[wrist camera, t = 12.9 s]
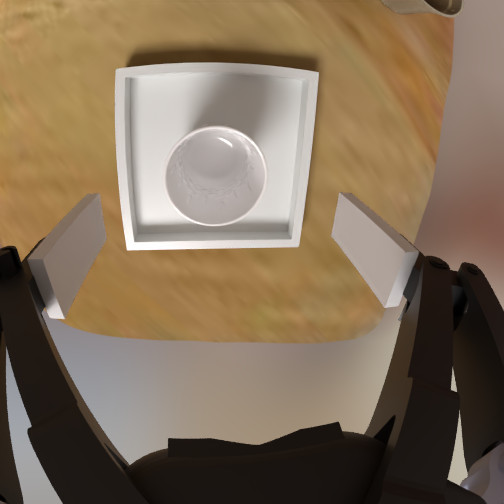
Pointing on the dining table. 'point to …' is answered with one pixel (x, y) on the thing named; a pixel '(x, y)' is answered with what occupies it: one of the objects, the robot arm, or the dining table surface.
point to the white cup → (215, 175)
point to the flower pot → (426, 6)
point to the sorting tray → (207, 112)
